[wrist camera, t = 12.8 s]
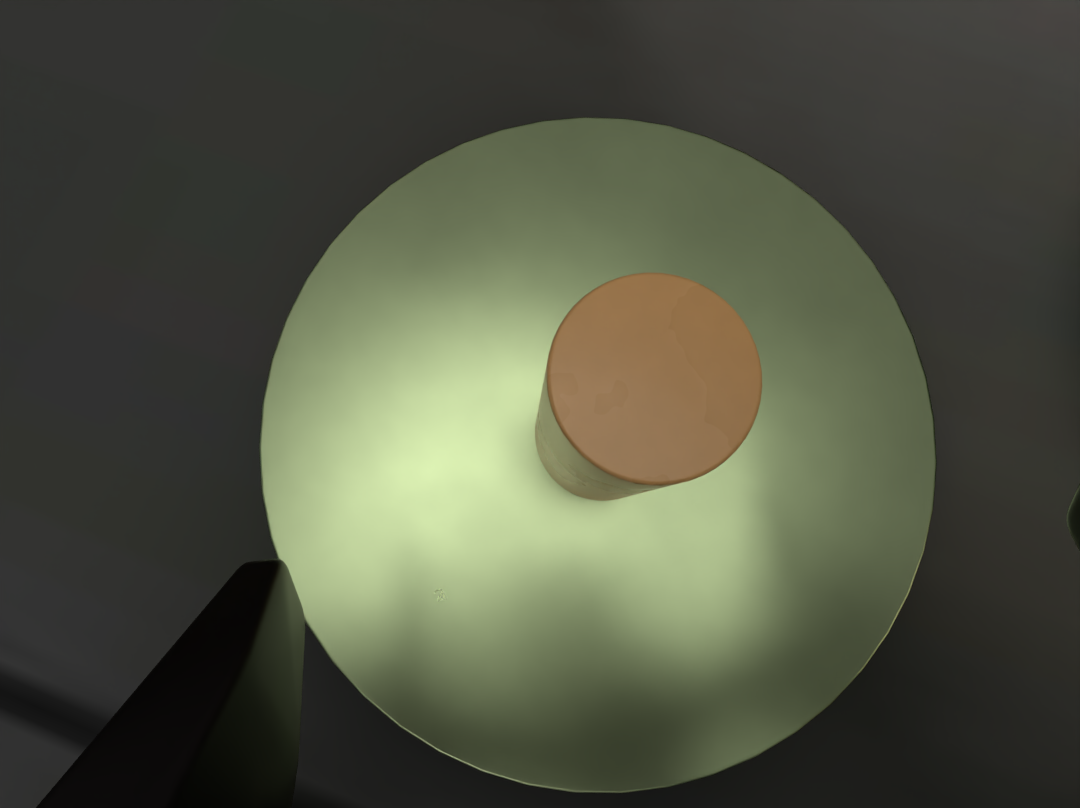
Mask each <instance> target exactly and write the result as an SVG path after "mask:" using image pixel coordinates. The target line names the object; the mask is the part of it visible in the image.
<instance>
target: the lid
mask: <svg viewBox="0 0 1080 808" xmlns="http://www.w3.org/2000/svg"><path fill="white" fill-rule="evenodd" d="M259 456H260V474H261V491H262V497H263V502H264V508H265V513H266V518H267V523H268V528H269V533H270V538H271V541H272V544H273V547H274V550H275V553H276V556H277V559H281V560H283V561H284V562H285V564H286V565H287V567H288V569H289V572H290V575H291V577H292V580H293V583H294V586H295V588H296V591H297V594H298V596H299V599H300V602H301V604H302V607H303V612H304V618H305V622H306V624H307V625H308V627H309V628H310V630H311V631H312V633H313V634H314V636H315V637H316V639H317V640H318V642H319V643H320V645H321V646H322V648H323V649H324V651H325V652H326V653H327V655H328V656H329V658H330V659H331V661H332V662H333V663H334V664H335V665H336V666H337V668H338V669H339V670H340V671H341V672H342V673H343V674H344V675H345V677H346V678H347V679H348V680H349V681H350V682H351V683H352V684H353V685H354V687H355V688H356V689H357V690H358V691H359V692H360V693H361V694H362V696H364V697H365V698H366V699H367V700H368V701H369V702H371V703H372V704H373V705H374V706H375V707H376V708H378V709H379V710H380V711H381V712H382V713H384V714H385V715H386V716H387V717H388V718H389V719H391V720H392V721H393V722H394V723H395V724H396V725H398V726H399V727H400V728H402V729H404V730H405V731H407V732H408V733H410V734H411V735H413V736H415V737H416V738H418V739H419V740H421V741H422V742H424V743H425V744H427V745H429V746H430V747H432V748H433V749H435V750H436V751H438V752H440V753H442V754H444V755H446V756H449V757H451V758H453V759H455V760H457V761H460V762H462V763H464V764H466V765H468V766H470V767H473V768H475V769H477V770H479V771H481V772H484V773H488V774H491V775H494V776H498V777H501V778H504V779H508V780H511V781H514V782H518V783H521V784H524V785H528V786H534V787H541V788H548V789H554V790H561V791H567V792H574V793H628V792H635V791H643V790H651V789H659V788H667V787H671V786H675V785H679V784H682V783H686V782H690V781H693V780H697V779H701V778H704V777H708V776H712V775H715V774H717V773H719V772H722V771H724V770H726V769H729V768H731V767H733V766H736V765H738V764H740V763H743V762H745V761H747V760H750V759H752V758H754V757H756V756H758V755H760V754H761V753H763V752H765V751H766V750H768V749H770V748H771V747H773V746H775V745H776V744H778V743H780V742H781V741H783V740H784V739H786V738H788V737H789V736H791V735H793V734H794V733H796V732H797V731H798V730H800V729H801V728H802V727H803V726H805V725H806V724H807V723H808V722H809V721H811V720H812V719H813V718H814V717H816V716H817V715H818V714H819V713H820V712H822V711H823V710H824V709H825V708H827V707H828V706H829V705H830V704H831V703H832V702H833V701H834V700H835V699H836V698H837V697H838V696H839V695H840V694H841V693H842V692H843V691H844V689H845V688H846V687H847V686H848V685H849V684H850V683H851V682H852V681H853V680H854V679H855V678H856V677H857V675H858V674H859V673H860V672H861V671H862V670H863V669H864V667H865V666H866V664H867V663H868V662H869V660H870V659H871V657H872V656H873V654H874V653H875V652H876V650H877V649H878V647H879V646H880V644H881V643H882V642H883V640H884V639H885V637H886V636H887V634H888V633H889V631H890V629H891V627H892V625H893V623H894V621H895V619H896V618H897V616H898V614H899V612H900V610H901V608H902V606H903V604H904V602H905V600H906V598H907V596H908V594H909V592H910V589H911V586H912V583H913V581H914V578H915V575H916V572H917V569H918V567H919V564H920V561H921V558H922V555H923V552H924V549H925V544H926V539H927V534H928V530H929V525H930V520H931V515H932V511H933V503H934V490H935V477H936V446H935V427H934V417H933V411H932V406H931V400H930V395H929V390H928V384H927V379H926V375H925V372H924V369H923V366H922V363H921V359H920V356H919V353H918V350H917V347H916V344H915V341H914V338H913V335H912V333H911V331H910V329H909V326H908V324H907V322H906V320H905V318H904V316H903V313H902V311H901V309H900V307H899V305H898V303H897V301H896V298H895V297H894V295H893V293H892V292H891V290H890V289H889V287H888V285H887V284H886V282H885V281H884V279H883V277H882V276H881V274H880V273H879V271H878V269H877V268H876V266H875V265H874V263H873V261H872V260H871V259H870V258H869V256H868V255H867V254H866V253H865V252H864V250H863V249H862V248H861V247H860V245H859V244H858V243H857V242H856V240H855V239H854V238H853V237H852V236H851V234H850V233H849V232H848V231H847V229H846V228H845V227H844V226H843V225H842V224H841V223H840V222H839V221H838V220H836V219H835V218H834V217H833V216H832V215H831V214H830V213H829V212H828V211H827V210H826V209H825V208H824V207H823V206H822V205H821V204H820V203H819V202H818V201H817V200H816V199H814V198H813V197H812V196H810V195H809V194H808V193H806V192H805V191H804V190H802V189H801V188H800V187H798V186H797V185H796V184H794V183H793V182H792V181H790V180H789V179H788V178H786V177H785V176H784V175H782V174H781V173H779V172H778V171H776V170H774V169H772V168H771V167H769V166H767V165H765V164H764V163H762V162H760V161H758V160H757V159H755V158H753V157H751V156H750V155H748V154H746V153H744V152H742V151H740V150H737V149H735V148H732V147H730V146H728V145H725V144H723V143H721V142H718V141H716V140H714V139H711V138H709V137H706V136H703V135H699V134H696V133H692V132H689V131H685V130H682V129H678V128H675V127H671V126H668V125H663V124H656V123H650V122H644V121H637V120H631V119H622V118H593V117H580V118H569V119H558V120H546V121H540V122H535V123H530V124H526V125H521V126H516V127H512V128H507V129H502V130H499V131H496V132H494V133H491V134H488V135H485V136H482V137H479V138H476V139H474V140H471V141H468V142H465V143H462V144H460V145H458V146H456V147H454V148H452V149H450V150H448V151H446V152H444V153H442V154H440V155H438V156H436V157H434V158H432V159H430V160H428V161H426V162H424V163H423V164H421V165H420V166H418V167H417V168H415V169H414V170H412V171H411V172H409V173H408V174H406V175H405V176H403V177H402V178H400V179H399V180H397V181H396V182H394V183H393V184H391V185H390V186H389V187H388V188H386V189H385V190H384V191H383V192H382V193H381V194H379V195H378V196H377V197H376V198H375V199H374V200H373V201H371V202H370V203H369V204H368V205H367V206H366V207H364V208H363V209H362V210H361V211H360V212H359V213H358V214H357V215H356V216H355V217H354V218H353V219H352V220H351V222H350V223H349V224H348V225H347V226H346V227H345V228H344V229H343V231H342V232H341V233H340V234H339V235H338V236H337V237H336V238H335V240H334V241H333V242H332V243H331V244H330V245H329V247H328V248H327V250H326V251H325V253H324V254H323V255H322V257H321V258H320V260H319V261H318V263H317V264H316V266H315V267H314V269H313V270H312V272H311V273H310V274H309V276H308V277H307V279H306V280H305V282H304V284H303V286H302V288H301V290H300V292H299V294H298V296H297V298H296V300H295V302H294V304H293V306H292V308H291V310H290V312H289V314H288V316H287V318H286V320H285V323H284V326H283V329H282V332H281V334H280V337H279V340H278V343H277V346H276V349H275V351H274V354H273V357H272V360H271V365H270V369H269V374H268V379H267V384H266V388H265V393H264V398H263V403H262V415H261V428H260V441H259Z"/></svg>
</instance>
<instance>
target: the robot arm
mask: <svg viewBox="0 0 1080 808" xmlns="http://www.w3.org/2000/svg"><path fill="white" fill-rule="evenodd" d="M1067 525H1068V528H1069V531H1070V534H1071V536H1072V538H1073V539H1074V541H1075V543H1076V545H1077V547H1078V549H1079V551H1080V484H1079V487H1078V489H1077V491H1076V493H1075V496H1074V498H1073V500H1072V502H1071V504H1070V507H1069V509H1068V512H1067ZM304 639H305V618H304V612H303V607H302V604H301V602H300V599H299V596H298V594H297V591H296V588H295V586H294V583H293V580H292V577H291V575H290V572H289V569H288V567H287V565H286V564H285V562H284V561H283V560H281V559H269V560H260V561H252V562H247V563H245V564H243V565H242V566H240V567H239V568H238V569H237V570H236V572H235V573H234V574H233V575H232V576H231V578H230V579H229V580H228V581H227V582H226V584H225V585H224V586H223V587H222V588H221V589H220V591H219V592H218V593H217V594H216V595H215V597H214V598H213V599H212V600H211V601H210V602H209V604H208V605H207V606H206V607H205V608H204V610H203V611H202V612H201V613H200V614H199V615H198V617H197V618H196V619H195V620H194V621H193V623H192V624H191V625H190V626H189V627H188V628H187V630H186V631H185V632H184V633H183V634H182V636H181V637H180V638H179V639H178V640H177V641H176V643H175V644H174V645H173V646H172V647H171V649H170V650H169V651H168V652H167V653H166V655H165V656H164V657H163V658H162V659H161V660H160V662H159V663H158V664H157V665H156V666H155V668H154V669H153V670H152V671H151V672H150V673H149V675H148V676H147V677H146V678H145V679H144V681H143V682H142V683H141V684H140V685H139V686H138V688H137V689H136V690H135V691H134V692H133V694H132V695H131V696H130V697H129V698H128V699H127V701H126V702H125V703H124V704H123V705H122V707H121V708H120V709H119V710H118V711H117V713H116V714H115V715H114V716H113V717H112V718H111V720H110V721H109V722H108V723H107V724H106V726H105V727H104V728H103V729H102V730H101V731H100V733H99V734H98V735H97V736H96V737H95V739H94V740H93V741H92V742H91V743H90V744H89V746H88V747H87V748H86V749H85V750H84V752H83V753H82V754H81V755H80V756H79V757H78V759H77V760H76V761H75V762H74V763H73V765H72V766H71V767H70V768H69V769H68V770H67V772H66V773H65V774H64V775H63V776H62V778H61V779H60V780H59V781H58V782H57V784H56V785H55V786H54V787H53V788H52V789H51V791H50V792H49V793H48V794H47V795H46V797H45V798H44V799H43V800H42V801H41V802H40V804H39V805H38V806H37V807H36V808H291V805H292V799H293V793H294V787H295V780H296V773H297V766H298V754H299V740H300V719H301V699H302V679H303V659H304Z"/></svg>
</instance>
